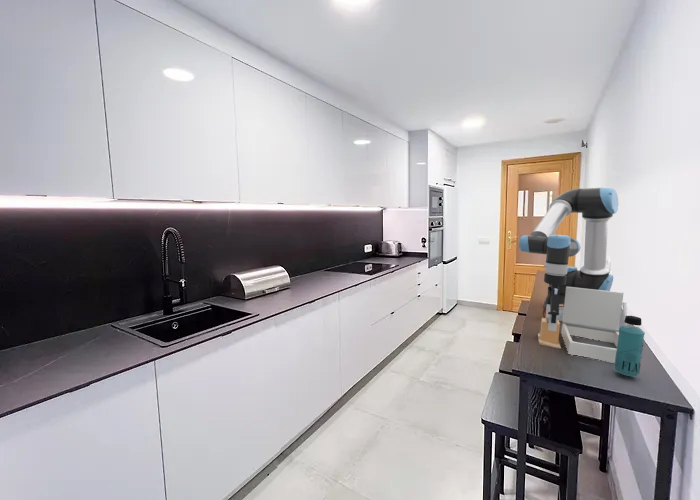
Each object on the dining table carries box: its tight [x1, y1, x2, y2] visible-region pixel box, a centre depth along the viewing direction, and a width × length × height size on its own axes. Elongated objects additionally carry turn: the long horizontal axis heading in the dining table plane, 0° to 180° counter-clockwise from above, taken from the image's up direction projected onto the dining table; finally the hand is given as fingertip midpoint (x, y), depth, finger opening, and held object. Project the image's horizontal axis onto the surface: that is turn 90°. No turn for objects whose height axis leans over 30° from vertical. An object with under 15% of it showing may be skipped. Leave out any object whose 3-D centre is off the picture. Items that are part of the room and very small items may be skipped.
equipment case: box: [560, 287, 629, 364], centre depth 126 cm, size 23×21×21 cm
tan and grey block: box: [539, 317, 561, 343], centre depth 133 cm, size 5×6×8 cm
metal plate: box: [537, 332, 562, 350], centre depth 134 cm, size 14×7×1 cm, turn 153°
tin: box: [542, 304, 564, 321], centre depth 157 cm, size 15×3×8 cm, turn 97°
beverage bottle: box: [614, 315, 645, 377], centre depth 105 cm, size 6×7×20 cm
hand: (550, 324), depth 133 cm, fingers open, 13 cm apart
